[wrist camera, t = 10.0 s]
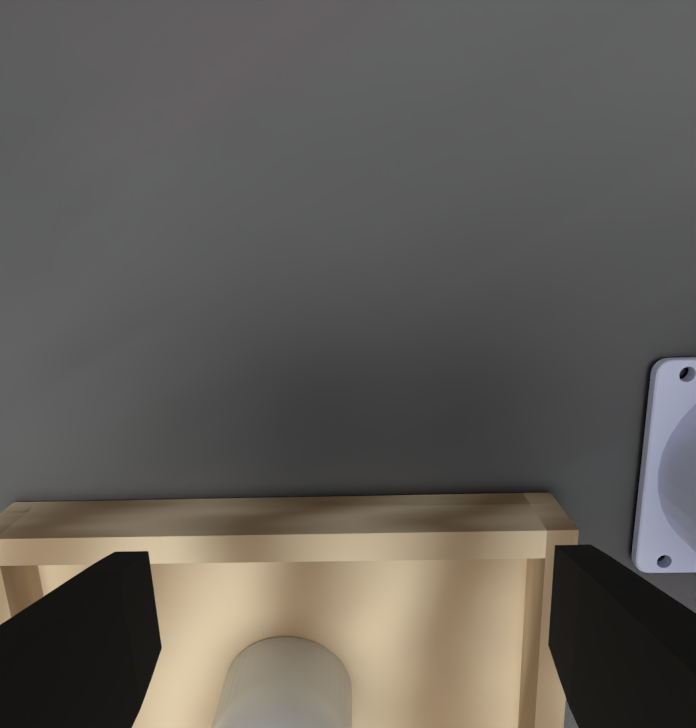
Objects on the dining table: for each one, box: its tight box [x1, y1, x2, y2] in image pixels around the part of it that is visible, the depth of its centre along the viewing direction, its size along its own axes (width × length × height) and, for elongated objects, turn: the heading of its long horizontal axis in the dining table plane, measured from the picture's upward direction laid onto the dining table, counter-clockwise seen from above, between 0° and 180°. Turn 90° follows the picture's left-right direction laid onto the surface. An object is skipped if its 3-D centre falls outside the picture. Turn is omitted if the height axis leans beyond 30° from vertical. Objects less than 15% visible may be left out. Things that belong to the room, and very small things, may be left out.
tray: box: [0, 493, 579, 728], centre depth 20 cm, size 20×16×2 cm
